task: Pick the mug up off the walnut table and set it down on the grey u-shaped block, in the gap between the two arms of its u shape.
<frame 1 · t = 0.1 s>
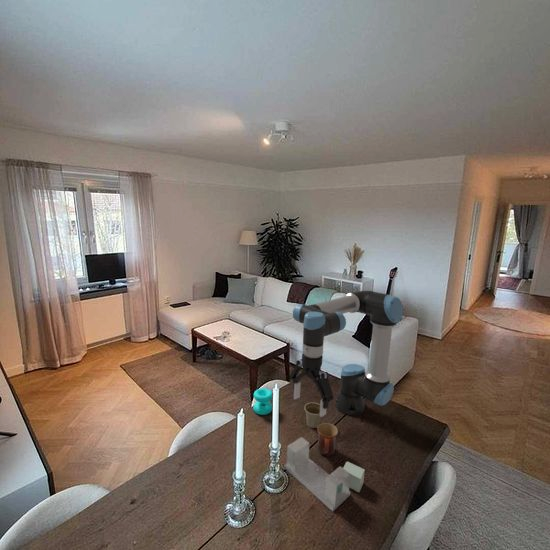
hand: (309, 406, 116), 28 cm above the table, fingers open, 13 cm apart
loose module: (352, 483, 116), on the table
grey u-shaped block: (315, 480, 116), on the table
flower pot: (313, 424, 148), on the table
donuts: (262, 410, 158), on the table
mug: (325, 453, 130), on the table
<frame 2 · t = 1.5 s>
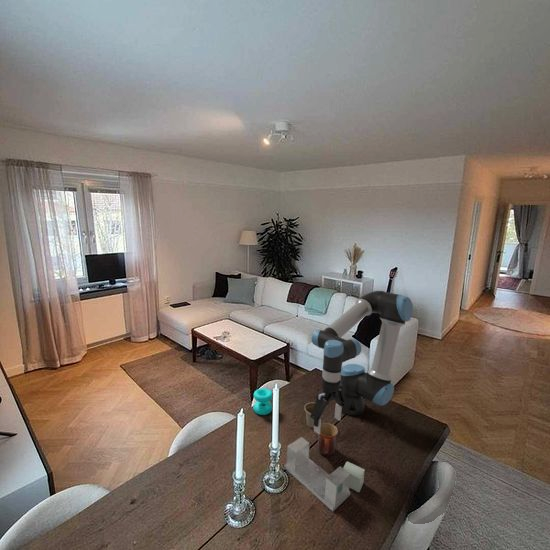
hand: (327, 425, 127), 13 cm above the table, fingers open, 13 cm apart
nothing on the table moved.
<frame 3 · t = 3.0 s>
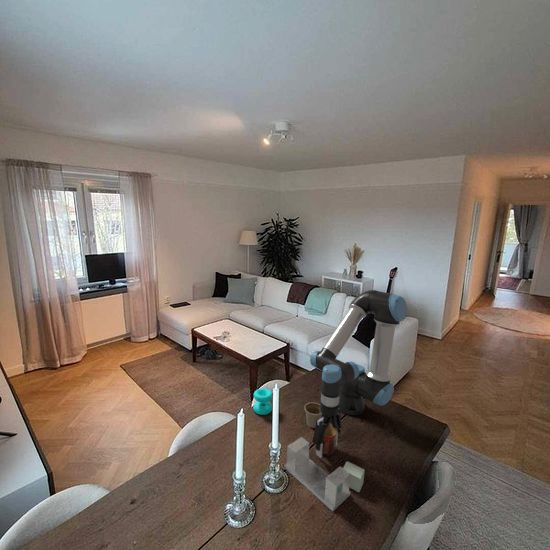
hand: (326, 449, 130), 2 cm above the table, fingers open, 9 cm apart
mug: (325, 453, 130), on the table, touching gripper
everything else where it was.
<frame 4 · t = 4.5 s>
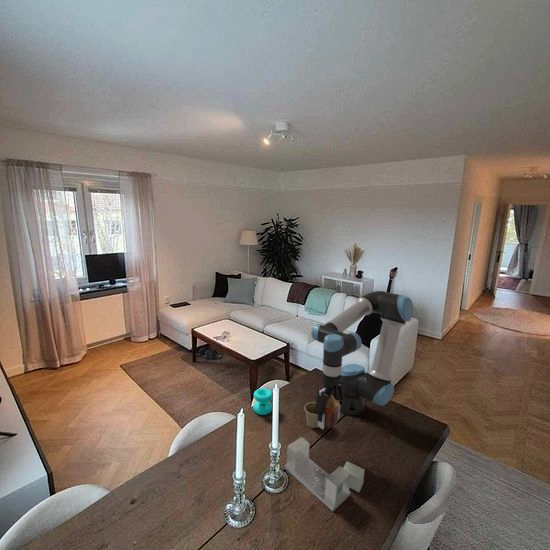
hand: (328, 422, 128), 15 cm above the table, fingers closed on mug, 9 cm apart
mug: (327, 426, 128), point 13 cm above the table, touching gripper
everything else where it was.
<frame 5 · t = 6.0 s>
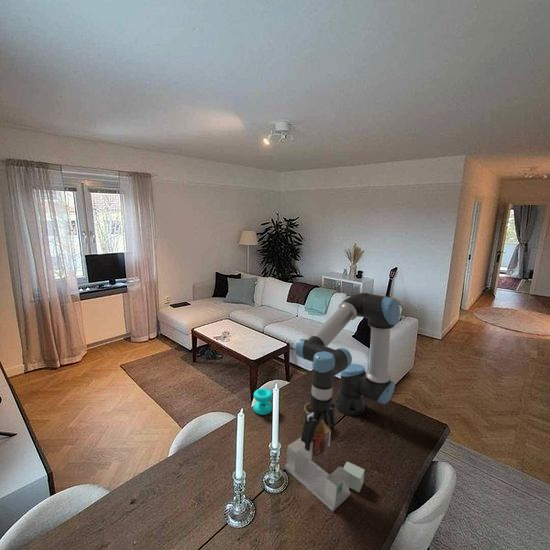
hand: (317, 450, 113), 13 cm above the table, fingers closed on mug, 9 cm apart
mug: (316, 454, 114), point 12 cm above the table, touching gripper
everything else where it was.
when the fingers open (3 cm above the table, at t = 8.1 s): mug stays where it is, resting on grey u-shaped block.
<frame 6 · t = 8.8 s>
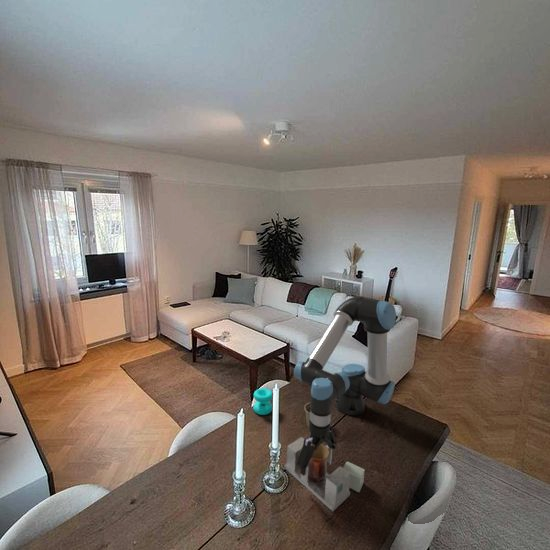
hand: (316, 471, 115), 4 cm above the table, fingers open, 13 cm apart
mug: (315, 478, 116), point 1 cm above the table, touching grey u-shaped block
everything else where it was.
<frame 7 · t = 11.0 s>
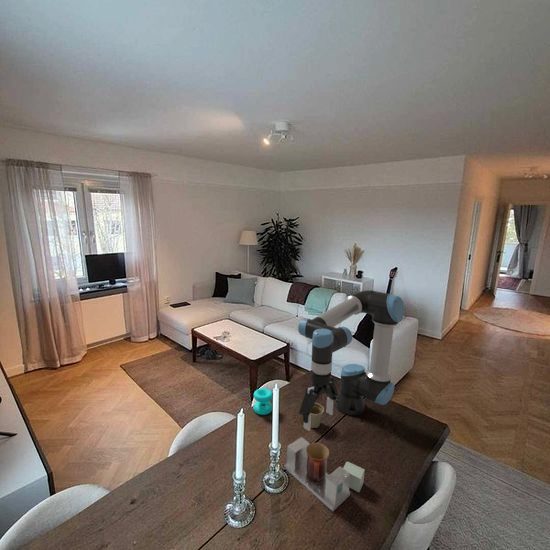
hand: (318, 421, 118), 21 cm above the table, fingers open, 13 cm apart
nothing on the table moved.
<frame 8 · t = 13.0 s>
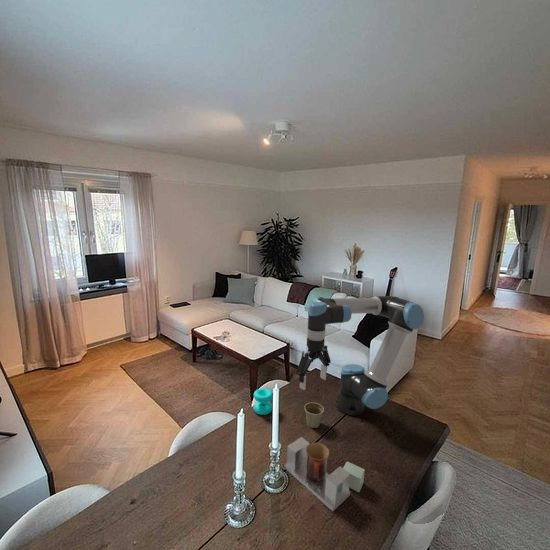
hand: (313, 383, 135), 27 cm above the table, fingers open, 13 cm apart
nothing on the table moved.
at the end: mug inside the target area on the grey u-shaped block (0.2 cm from its centre), point 1.3 cm above the grey u-shaped block's base; mug tilted 0°; the gripper is holding nothing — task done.
